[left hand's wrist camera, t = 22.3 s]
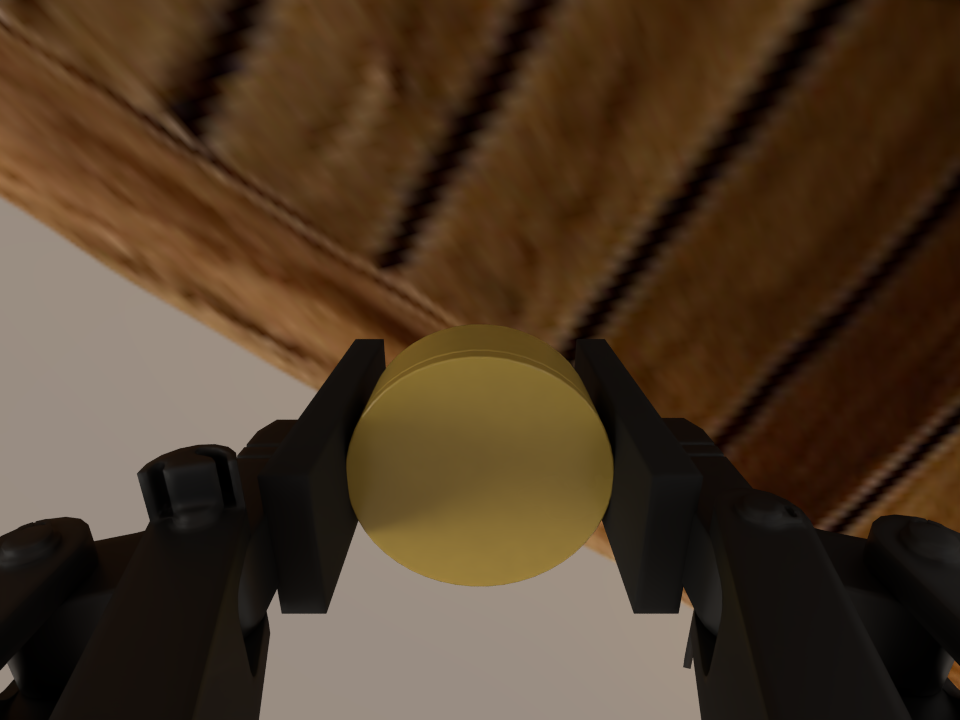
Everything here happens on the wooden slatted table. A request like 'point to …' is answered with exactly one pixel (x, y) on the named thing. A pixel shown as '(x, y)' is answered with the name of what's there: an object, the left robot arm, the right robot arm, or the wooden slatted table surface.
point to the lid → (479, 458)
